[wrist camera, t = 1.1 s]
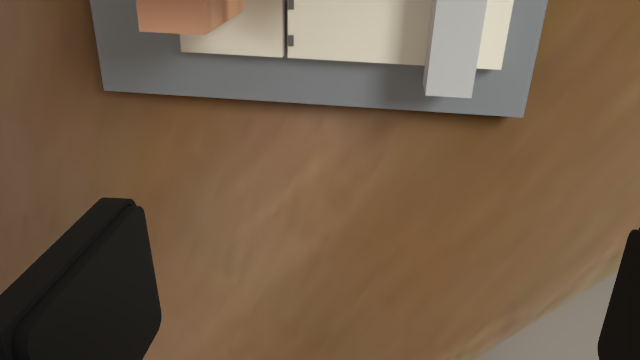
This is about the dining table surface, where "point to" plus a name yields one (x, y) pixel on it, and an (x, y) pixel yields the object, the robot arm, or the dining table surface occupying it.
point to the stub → (218, 25)
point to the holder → (345, 56)
